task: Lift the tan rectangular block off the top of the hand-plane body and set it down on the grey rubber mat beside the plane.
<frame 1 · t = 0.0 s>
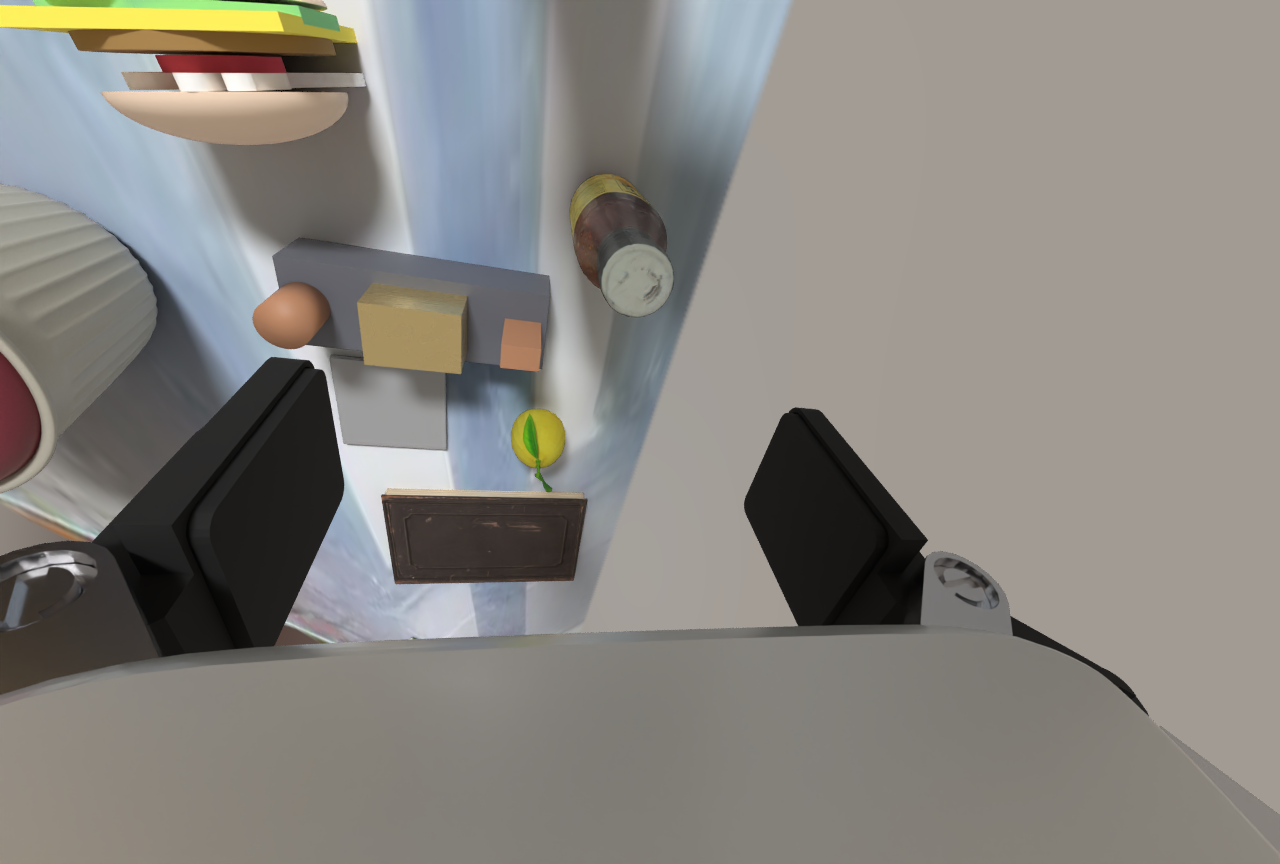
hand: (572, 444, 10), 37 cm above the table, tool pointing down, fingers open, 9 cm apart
canister: (66, 270, 38), on the table
lemon: (539, 416, 54), on the table
plane body: (432, 296, 44), on the table
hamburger: (270, 63, 33), on the table
tan rectangular block: (422, 319, 40), point 5 cm above the table, touching plane body
mat: (394, 404, 50), on the table
sauce bottle: (603, 208, 42), on the table
hardcover book: (490, 530, 63), on the table
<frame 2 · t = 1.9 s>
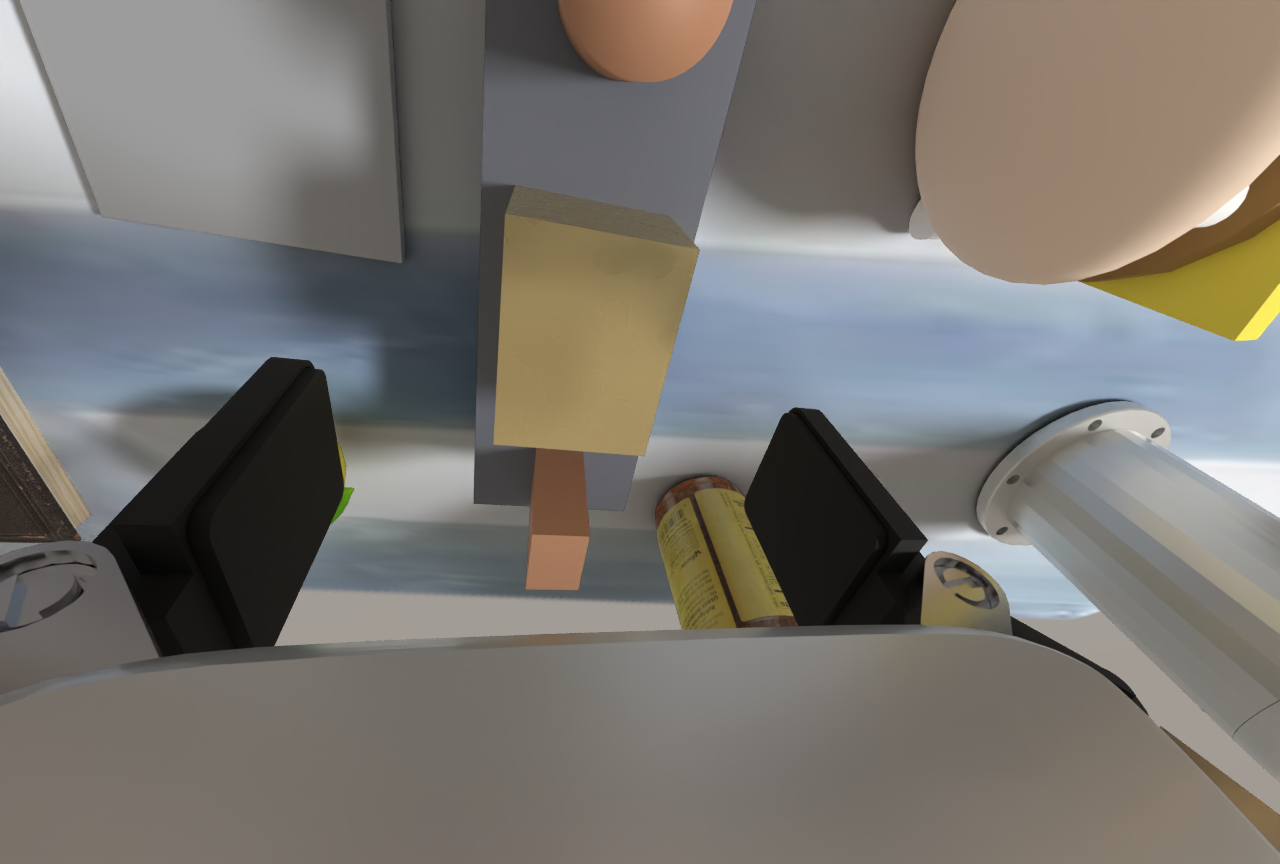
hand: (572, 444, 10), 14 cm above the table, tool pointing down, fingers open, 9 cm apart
lemon: (305, 430, 25), on the table
plane body: (575, 263, 21), on the table
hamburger: (978, 76, 20), on the table
tan rectangular block: (580, 305, 17), point 5 cm above the table, touching plane body
mat: (237, 85, 16), on the table
sauce bottle: (700, 503, 32), on the table
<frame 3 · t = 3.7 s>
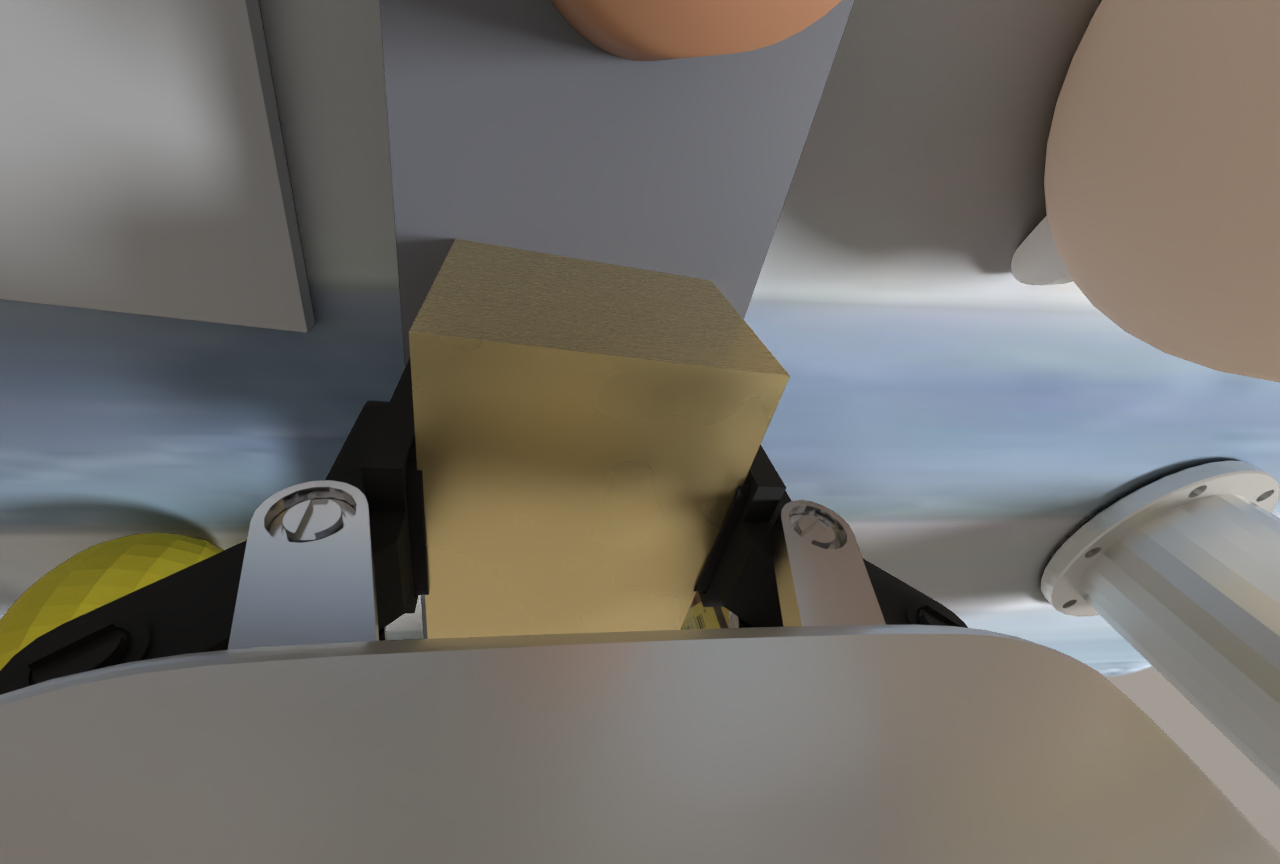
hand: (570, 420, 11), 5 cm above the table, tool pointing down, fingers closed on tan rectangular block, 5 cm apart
lemon: (199, 540, 18), on the table
plane body: (561, 323, 15), on the table
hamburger: (1132, 60, 14), on the table
tan rectangular block: (569, 410, 11), point 5 cm above the table, touching gripper, plane body
mat: (2, 68, 10), on the table
sauce bottle: (719, 591, 26), on the table
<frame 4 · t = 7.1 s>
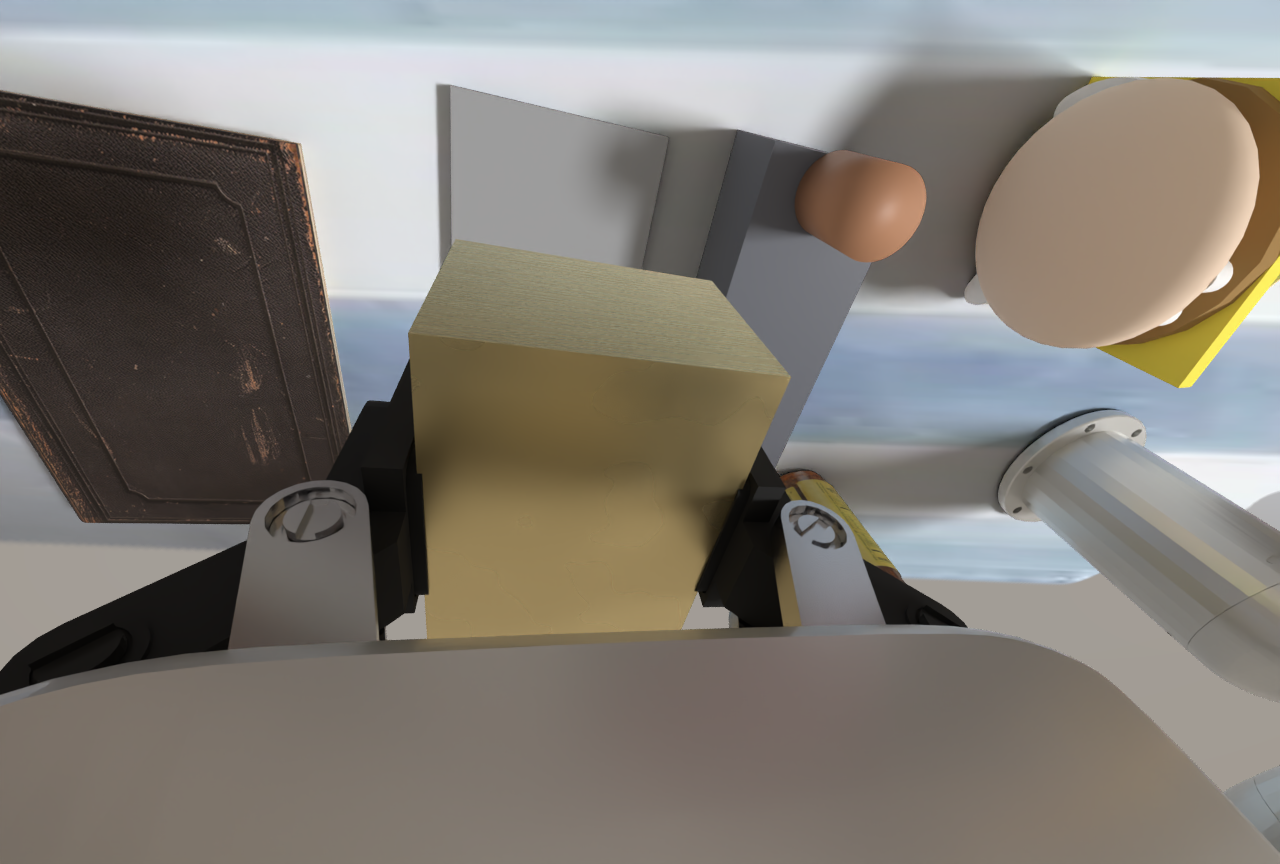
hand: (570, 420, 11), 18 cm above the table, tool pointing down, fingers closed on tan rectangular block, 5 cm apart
plane body: (737, 323, 31), on the table
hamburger: (1016, 200, 29), on the table
tan rectangular block: (569, 411, 11), point 18 cm above the table, touching gripper
mat: (553, 223, 26), on the table
sauce bottle: (792, 491, 41), on the table
hardcover book: (191, 346, 27), on the table
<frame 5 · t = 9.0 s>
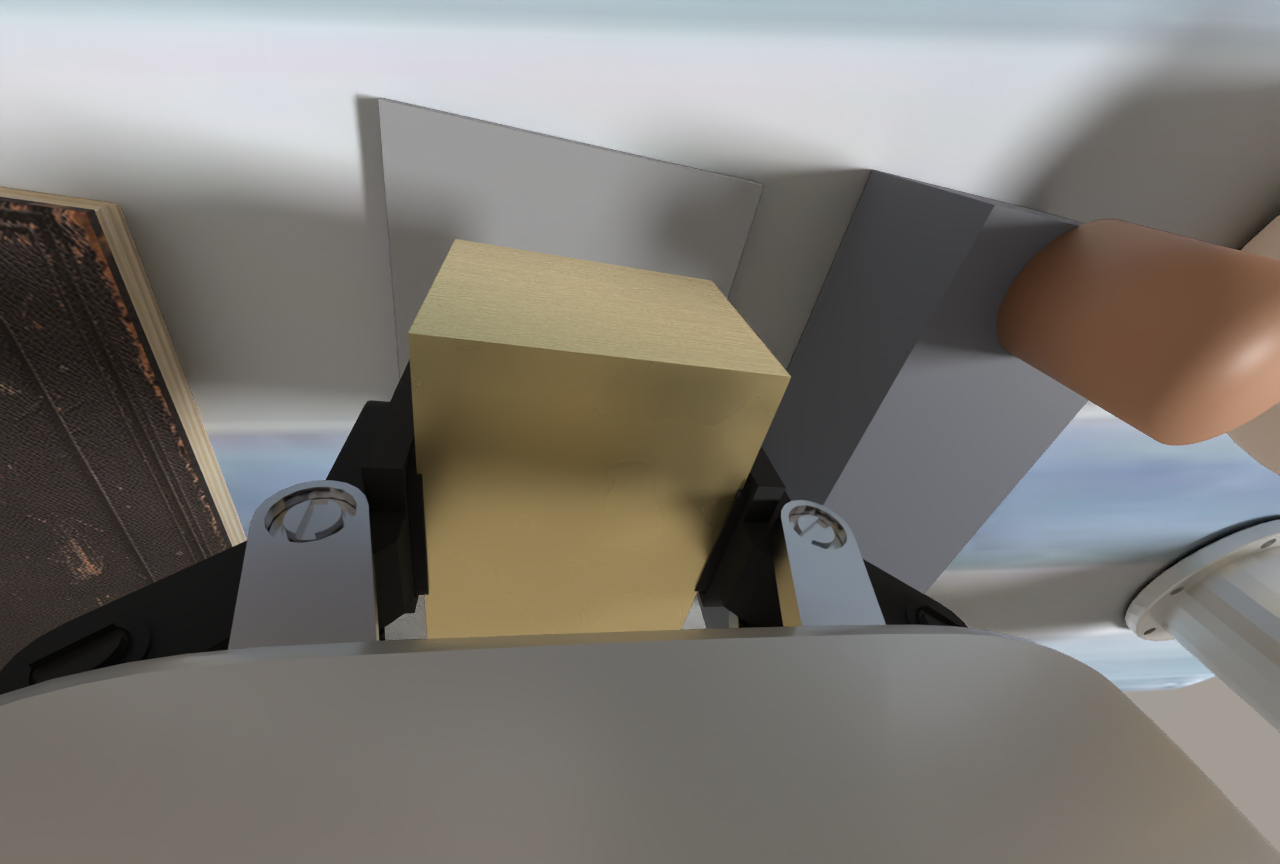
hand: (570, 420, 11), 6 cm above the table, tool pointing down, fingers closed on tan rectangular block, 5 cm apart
plane body: (832, 441, 21), on the table
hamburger: (1259, 265, 19), on the table
tan rectangular block: (569, 411, 11), point 6 cm above the table, touching gripper
mat: (565, 317, 16), on the table
hardcover book: (0, 500, 17), on the table
when the fingers open (3 cm above the table, at t = 10.6 s): tan rectangular block drops 2 cm, resting on mat.
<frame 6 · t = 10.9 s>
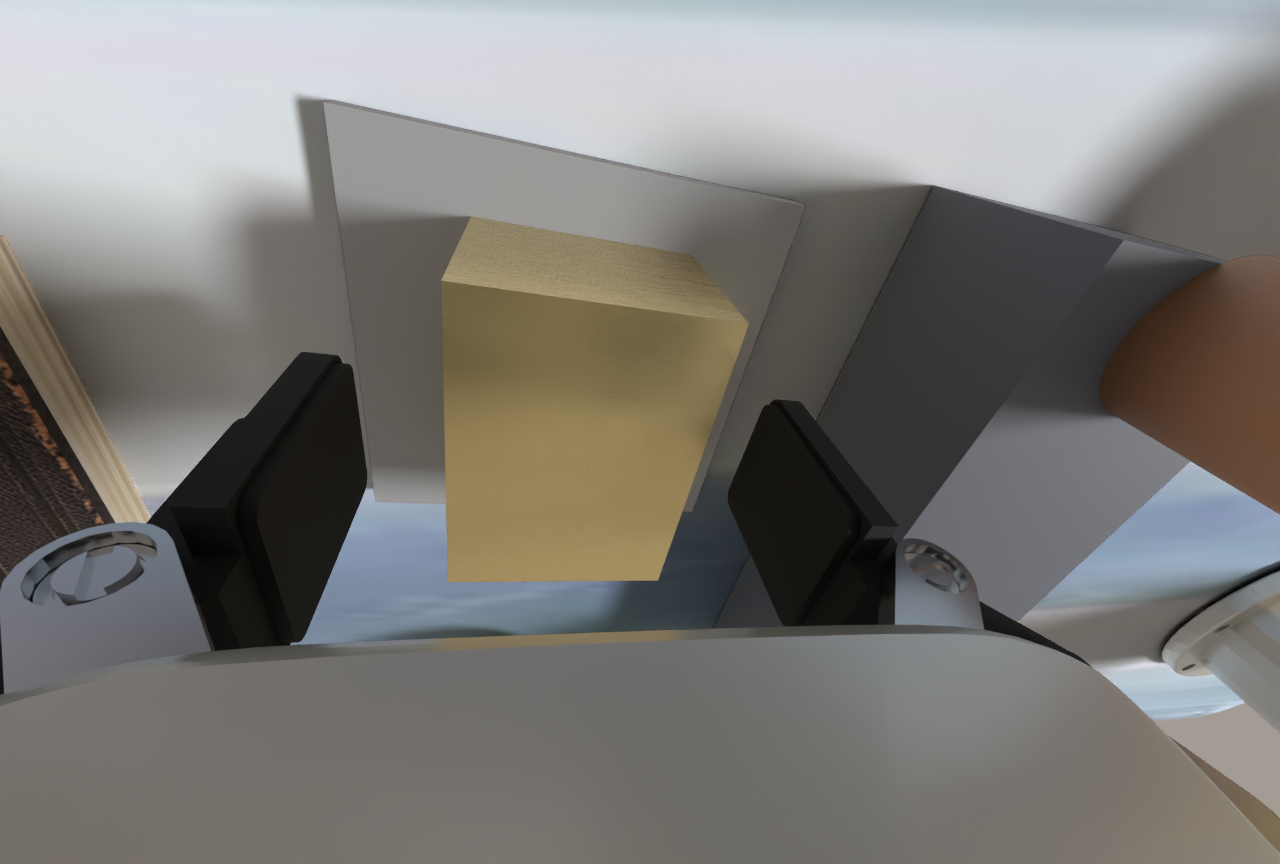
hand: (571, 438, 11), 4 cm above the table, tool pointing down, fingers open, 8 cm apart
plane body: (866, 487, 19), on the table
tan rectangular block: (568, 372, 13), point 1 cm above the table, touching mat
mat: (564, 360, 13), on the table
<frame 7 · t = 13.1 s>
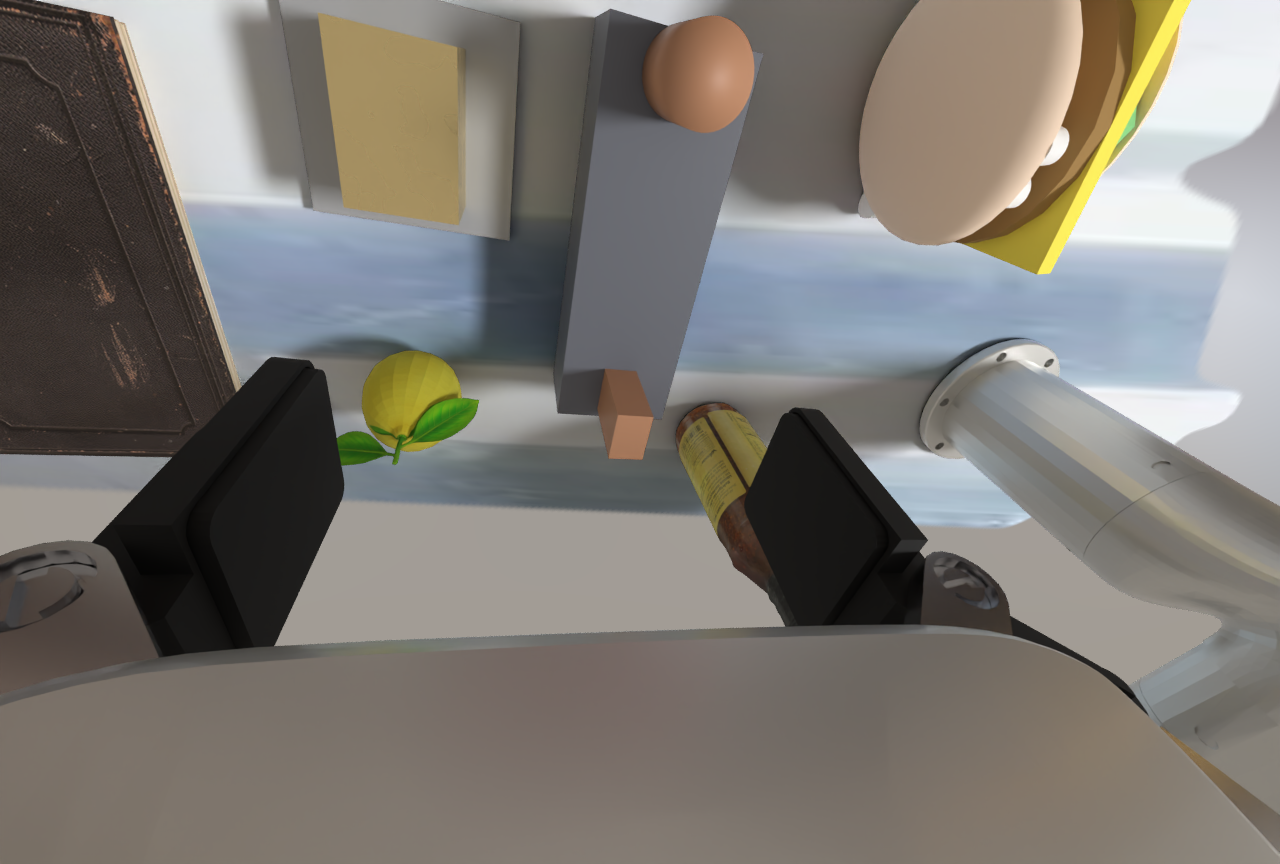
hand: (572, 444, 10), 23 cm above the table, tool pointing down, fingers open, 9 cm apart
lemon: (421, 369, 33), on the table
plane body: (626, 239, 30), on the table
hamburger: (900, 105, 29), on the table
tan rectangular block: (412, 123, 24), point 1 cm above the table, touching mat
mat: (412, 120, 25), on the table
sauce bottle: (709, 426, 41), on the table
hardcover book: (41, 258, 26), on the table
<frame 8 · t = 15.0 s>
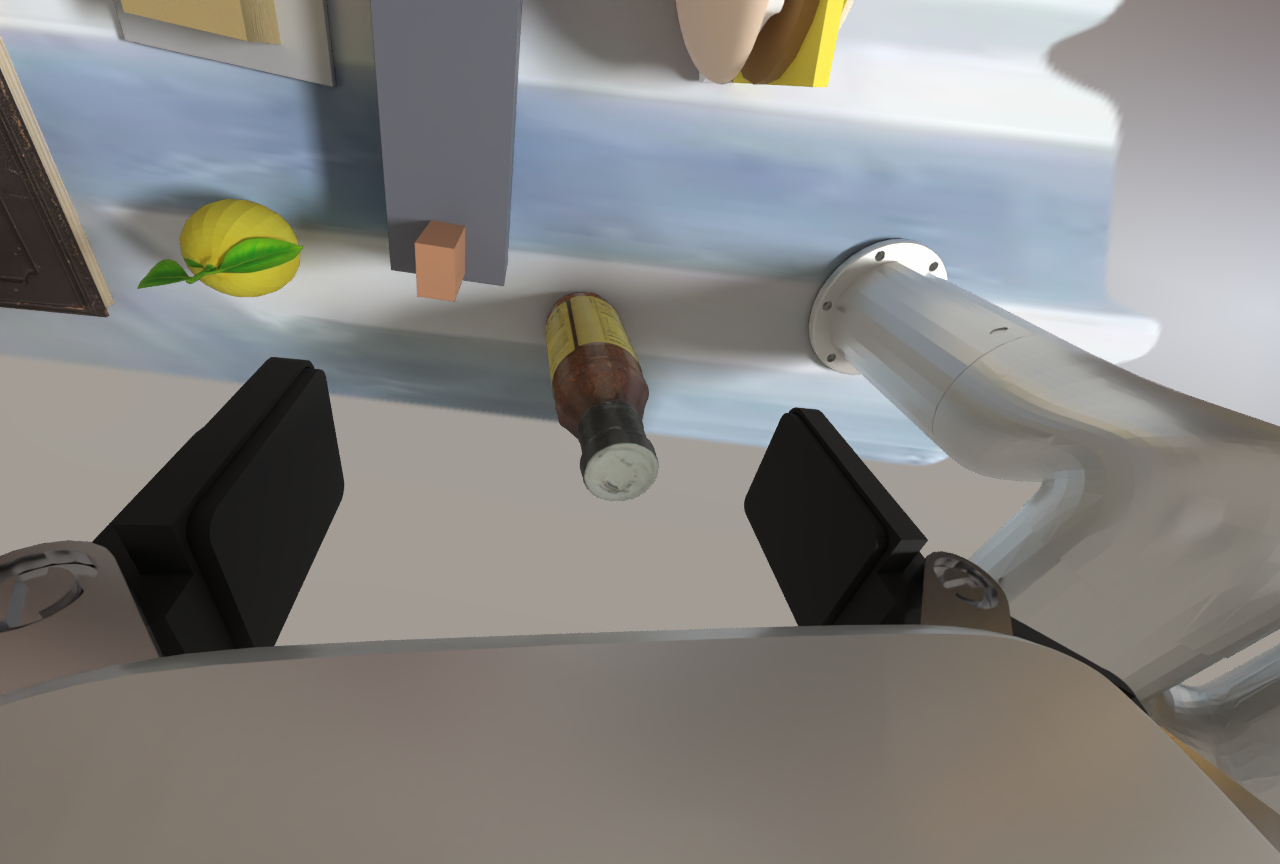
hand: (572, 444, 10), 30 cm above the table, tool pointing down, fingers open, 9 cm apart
lemon: (270, 234, 34), on the table
plane body: (458, 95, 31), on the table
sauce bottle: (584, 322, 41), on the table
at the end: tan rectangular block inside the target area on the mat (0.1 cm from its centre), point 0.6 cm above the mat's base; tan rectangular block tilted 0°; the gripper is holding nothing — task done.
